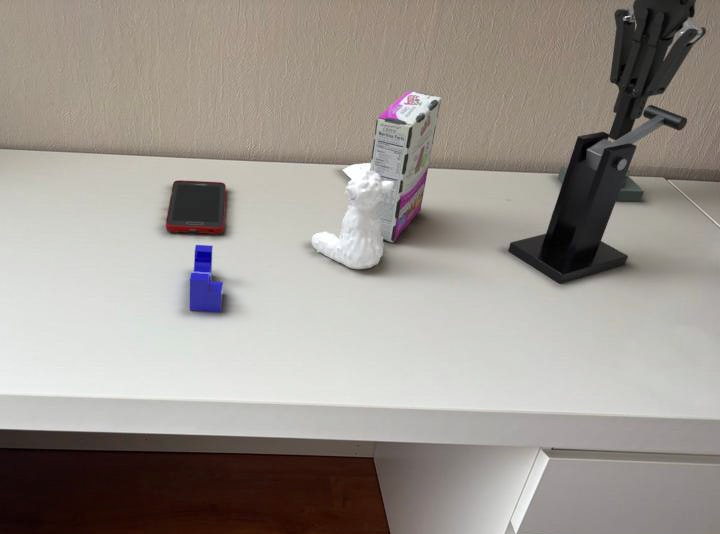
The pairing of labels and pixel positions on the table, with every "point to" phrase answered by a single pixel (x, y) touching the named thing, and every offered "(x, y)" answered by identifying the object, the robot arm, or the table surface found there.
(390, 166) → the candy bar box
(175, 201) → the cell phone
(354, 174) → the white flat piece
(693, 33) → the robot arm
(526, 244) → the bracket
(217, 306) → the cable holder
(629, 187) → the housing
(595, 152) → the lever
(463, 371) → the table surface
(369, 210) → the sitting furry creature
